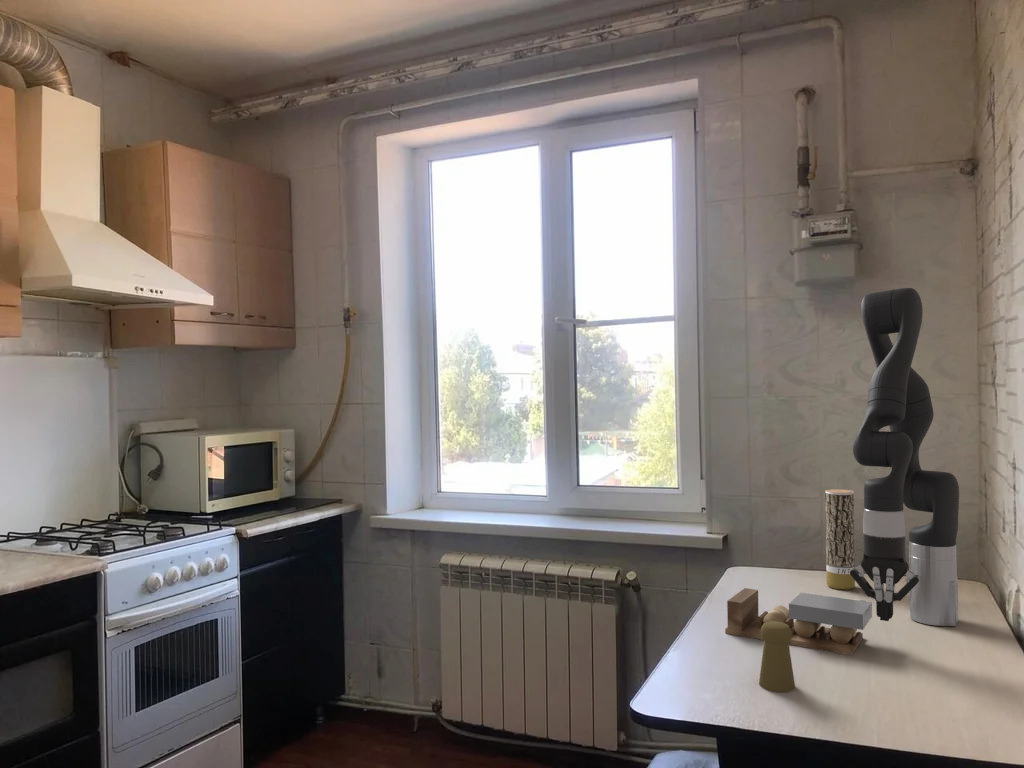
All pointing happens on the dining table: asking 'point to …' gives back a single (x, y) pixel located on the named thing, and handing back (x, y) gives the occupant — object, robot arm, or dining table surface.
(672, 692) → the dining table surface
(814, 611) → the slab
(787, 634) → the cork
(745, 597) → the roller bed
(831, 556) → the paper tube
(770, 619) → the roller
